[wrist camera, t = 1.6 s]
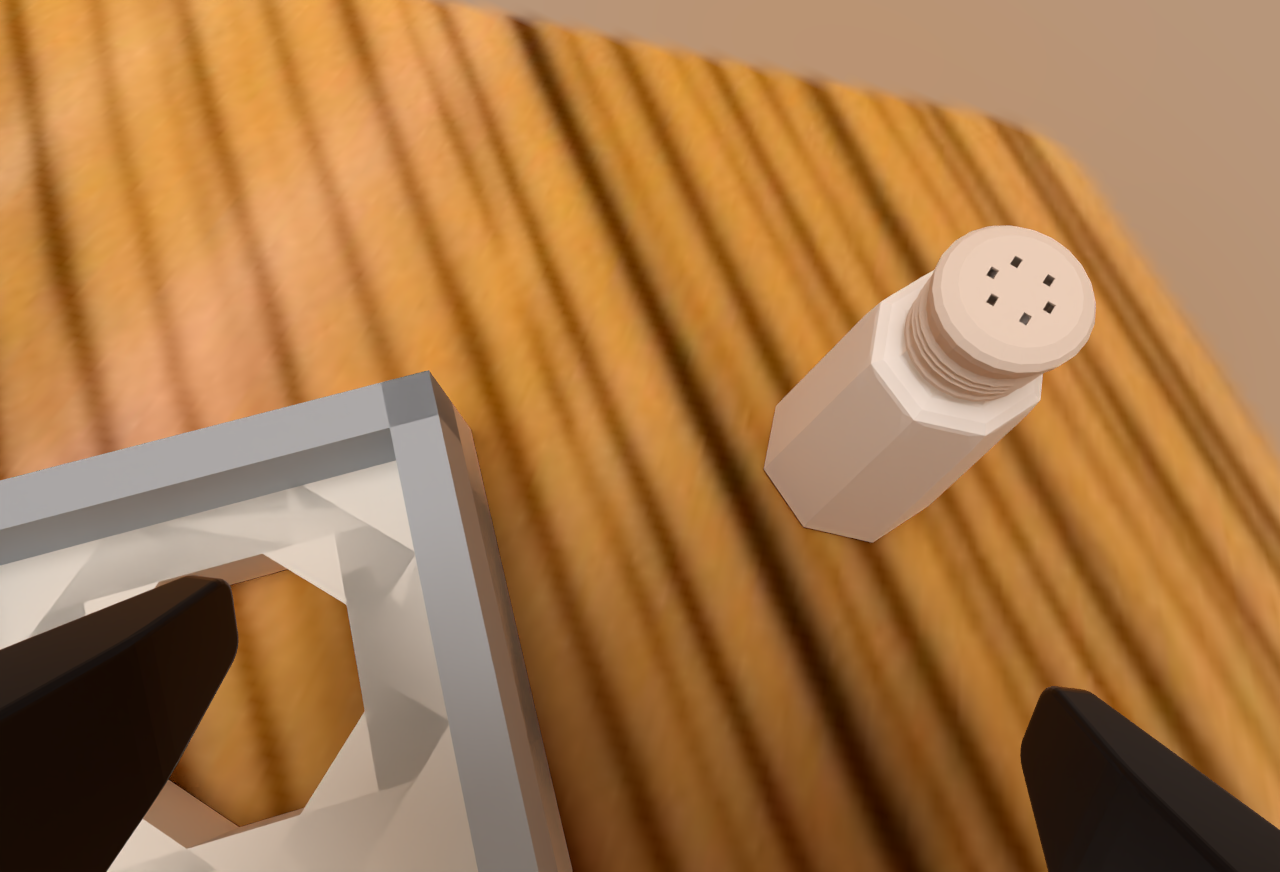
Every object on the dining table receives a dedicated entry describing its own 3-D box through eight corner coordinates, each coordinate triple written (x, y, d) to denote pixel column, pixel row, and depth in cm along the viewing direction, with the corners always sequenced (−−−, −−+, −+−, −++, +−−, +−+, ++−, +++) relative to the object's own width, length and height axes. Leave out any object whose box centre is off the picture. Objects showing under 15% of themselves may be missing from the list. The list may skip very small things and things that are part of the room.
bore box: (604, 1011, 19) (593, 1124, 15) (38, 1198, 18) (-174, 1388, 14) (470, 429, 24) (428, 370, 19) (5, 552, 23) (-164, 522, 18)
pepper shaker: (726, 476, 23) (800, 323, 13) (820, 342, 25) (958, 103, 14) (880, 581, 23) (1094, 509, 12) (969, 437, 24) (1235, 257, 13)
